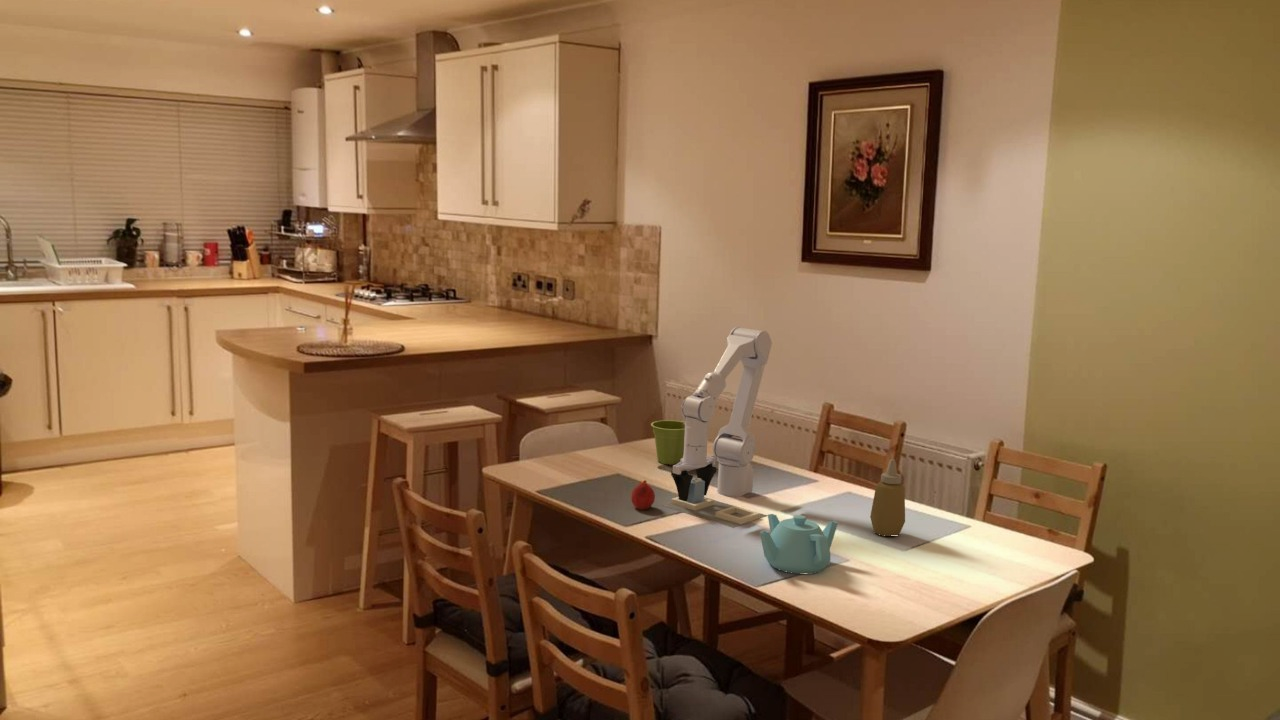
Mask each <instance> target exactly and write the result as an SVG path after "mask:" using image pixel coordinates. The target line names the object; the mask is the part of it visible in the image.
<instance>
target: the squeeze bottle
mask: <svg viewBox="0 0 1280 720" xmlns="http://www.w3.org/2000/svg"><path fill="white" fill-rule="evenodd" d="M897 471H898V470H897V463H896V460H895V459H891V458H890V459H889V462H888V465H887V469H886V472H882V473H881V475H880V481H879V482H877V483H876V484H875V489H874V490H875V491H874V495H873V501H872V505H871V506H872V507H871V511H870V521H871V526H872V529H873V530H872V531H873V532H875V533H877V534H880V535H885V536H891V535H898V534H899V533H900V534H901V531H902V529H903V527H904V526H905V523H906V497H905V496H906V491H905V490H906V488H905V486H904V485H903V484H902V475H901V474H899V473H898V472H897ZM875 533H874V534H875ZM877 534H876V535H877ZM900 534H899V535H900ZM880 535H879V536H880ZM899 535H898V536H899ZM885 536H884V537H885Z"/></svg>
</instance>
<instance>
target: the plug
mask: <svg viewBox="0 0 1280 720" xmlns="http://www.w3.org/2000/svg"><path fill="white" fill-rule="evenodd" d="M704 489H705V481H703V480H701V479H700V478H695V477H693V478H692V480H691V483H690V487H689V493H688V499H687V501H686V502H689V503H692V504H696V503H700V502H703V501H704V497H705V496H704Z"/></svg>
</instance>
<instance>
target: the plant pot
mask: <svg viewBox="0 0 1280 720" xmlns="http://www.w3.org/2000/svg"><path fill="white" fill-rule="evenodd" d="M650 426H651V427H652V431H653V434H654V440H655V450H656V458H657V462H659V463H660V464H662V465H668V464H669V466H670V465H672V466H673V465H676V464H678V463H679V462H681V461H680V459H682V458H683V456H684V436H685V424H684V423H683V420H673V419H672V420H670V419H666V420H664V419H663V420H656V421H653V422H651V423H650Z"/></svg>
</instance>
